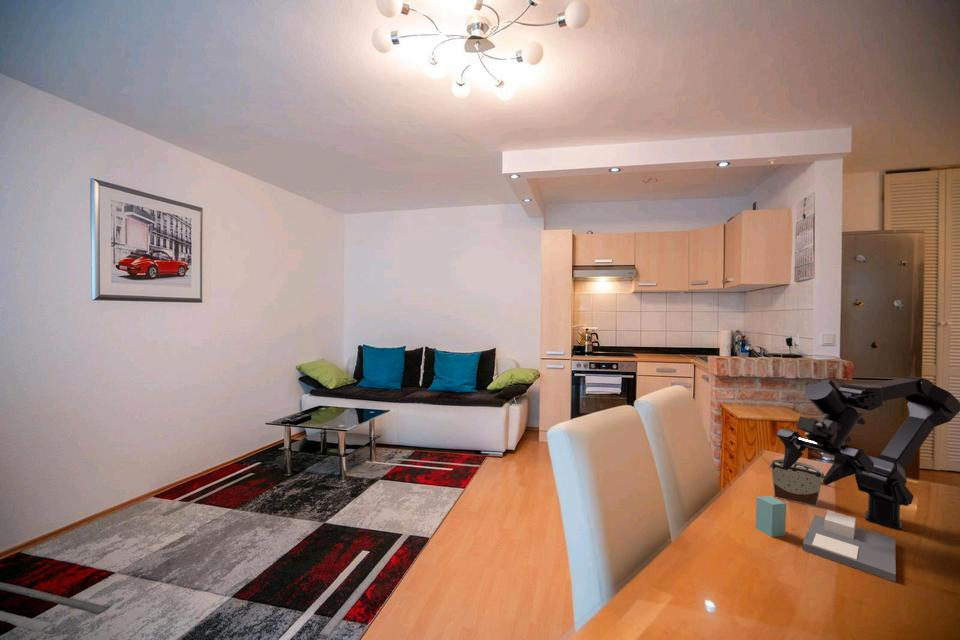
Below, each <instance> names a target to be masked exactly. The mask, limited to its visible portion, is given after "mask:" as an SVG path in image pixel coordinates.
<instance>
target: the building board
mask: <svg viewBox="0 0 960 640" xmlns="http://www.w3.org/2000/svg"><path fill="white" fill-rule="evenodd" d="M813 516H814V517H813V519H812V521H811V523H810V525H809V527H808V530H807V533H806V535H805V537H804V540H803V542H802V551H805V552H806V553H807V552H808V553H810V554H813V555H815V556H818V557H821V558H823V559H824V558H825V559H827V560H831V561H834V562H837V563H840V564H842V565H844V566H848V567H850V568H854V569H856V570H859V571H862V572H865V573H867V574H870V575H873V576H877V577H879V578H882V579H886V580H887V581H891V582H894V583H896V579H897V577H896V574H897V573H896V571H897V570H896V569H897V567H896V566H897V565H896V537H893V536H890V535H886V534H883V533H879V532H875V531H873V530H868V529H867V528H866V529H865V528H861V527H858V526H856V524H857V523H856V521H857V519H856V517H854V516H849V515H846V514H842V513H839V512H835V511H831V510H829V509H827V511H826V515H825V517H824V516H820V515H817V514H814V515H813Z"/></svg>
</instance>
